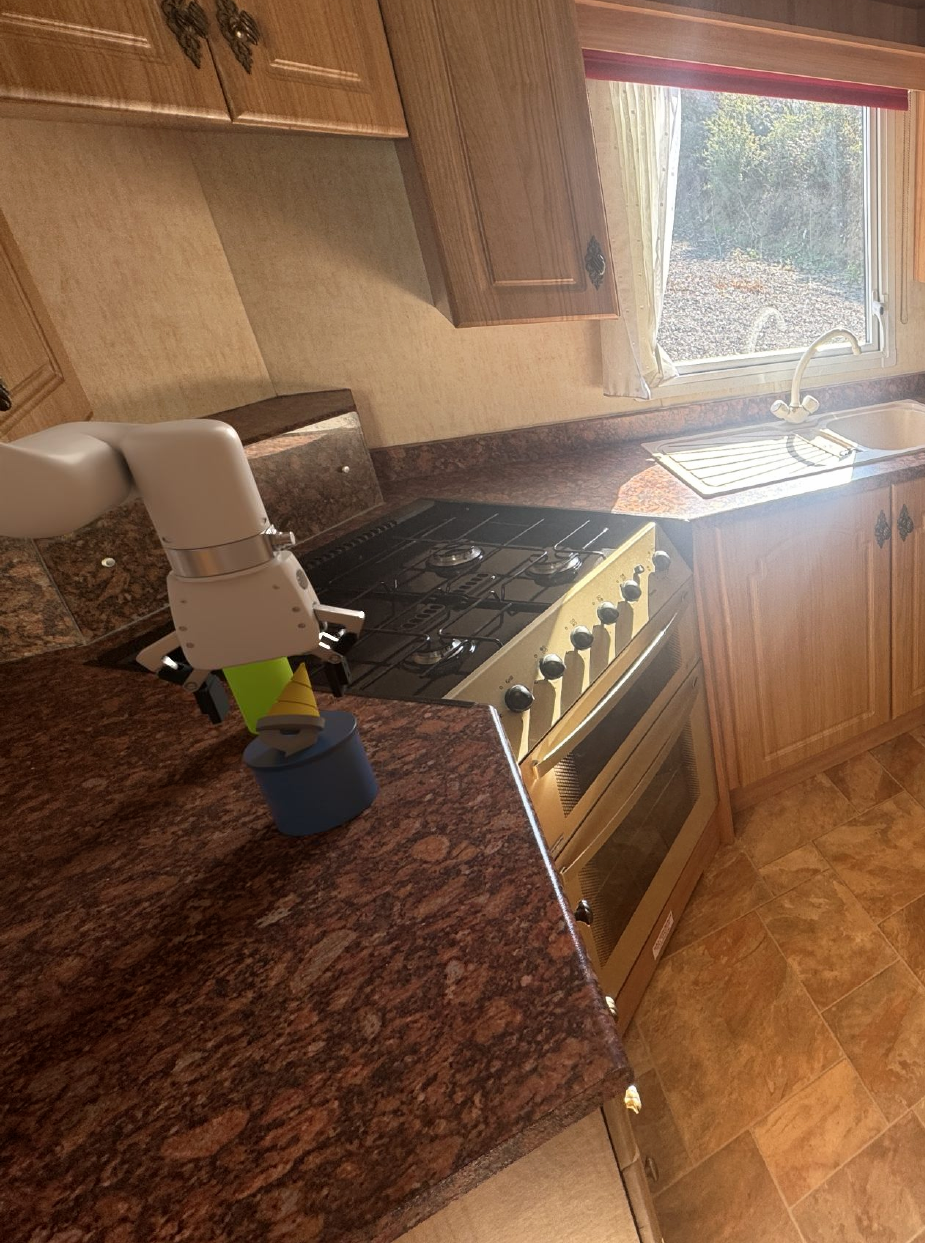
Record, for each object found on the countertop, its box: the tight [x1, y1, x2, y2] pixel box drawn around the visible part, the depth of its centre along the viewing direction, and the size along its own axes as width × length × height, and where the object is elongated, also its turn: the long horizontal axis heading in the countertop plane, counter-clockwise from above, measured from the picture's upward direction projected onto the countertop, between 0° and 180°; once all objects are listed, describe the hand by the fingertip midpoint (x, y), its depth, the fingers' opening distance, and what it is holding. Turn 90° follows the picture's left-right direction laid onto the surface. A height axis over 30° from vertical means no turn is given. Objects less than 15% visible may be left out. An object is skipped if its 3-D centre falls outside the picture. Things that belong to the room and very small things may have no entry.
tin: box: [242, 710, 380, 837], centre depth 80 cm, size 9×9×9 cm
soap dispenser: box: [221, 657, 294, 735], centre depth 92 cm, size 6×7×20 cm
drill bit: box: [256, 662, 325, 757], centre depth 77 cm, size 5×5×10 cm
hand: (283, 703), depth 76 cm, fingers open, 9 cm apart
